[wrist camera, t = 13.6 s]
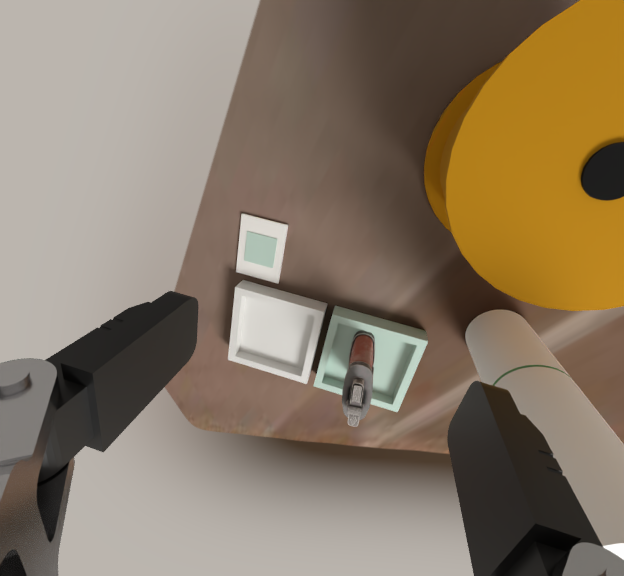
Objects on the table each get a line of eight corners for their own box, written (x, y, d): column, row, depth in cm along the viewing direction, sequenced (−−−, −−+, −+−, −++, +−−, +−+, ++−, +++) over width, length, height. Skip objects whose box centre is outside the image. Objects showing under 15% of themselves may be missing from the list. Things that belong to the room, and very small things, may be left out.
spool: (641, 16, 26) (910, -123, 13) (624, 230, 32) (792, 291, 19) (412, 90, 31) (429, 47, 18) (434, 262, 37) (460, 327, 24)
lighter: (371, 381, 45) (366, 440, 36) (346, 377, 45) (336, 433, 36) (378, 332, 41) (375, 383, 32) (352, 328, 42) (342, 377, 33)
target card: (242, 213, 40) (241, 213, 40) (288, 224, 39) (287, 225, 39) (236, 271, 43) (235, 272, 43) (278, 282, 43) (277, 283, 42)
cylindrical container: (466, 361, 41) (557, 612, 19) (463, 312, 39) (565, 535, 17) (529, 358, 40) (713, 634, 17) (531, 306, 37) (749, 551, 15)
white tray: (243, 279, 44) (235, 286, 42) (327, 303, 42) (324, 312, 40) (235, 349, 49) (227, 359, 47) (310, 372, 48) (306, 384, 45)
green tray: (335, 305, 42) (332, 314, 40) (425, 330, 41) (428, 341, 39) (316, 374, 48) (313, 386, 45) (397, 399, 46) (397, 412, 44)
